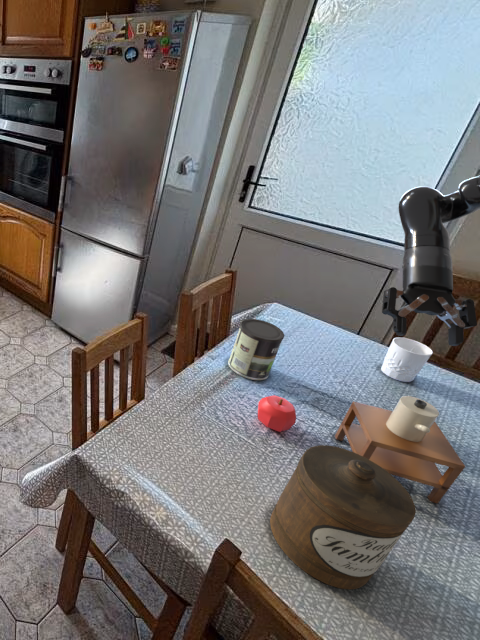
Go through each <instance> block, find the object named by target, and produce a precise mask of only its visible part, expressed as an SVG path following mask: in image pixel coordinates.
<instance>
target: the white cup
mask: <svg viewBox="0 0 480 640" xmlns="http://www.w3.org/2000/svg"><path fill="white" fill-rule="evenodd" d="M433 353H434V352H433V350H432V348H431V347H429V346H427V345H426V344H424V343H422V342H419V341H417V340H414V339H411V338H407V337H402V336H400V337H399V336H398V337H394V338H393V339H392V341H391V342H390V345H389V347H388V348H387V351H386V354H385V356H384V359H383V363H382V365H381V368H380V370H381V372H382V373H383V374H384V375H386V376H387V377H389V378H392V379H393V380H396V381H399V382H402V383H403V382H404V383H410V382H413V381H414V380H415V379H416V377H417V375H418V374H419V373H420V372H421V371H422V370H423V368H424V367H425V365H426V363H427V362H428V361H429V359H430V358H431V356H433Z"/></svg>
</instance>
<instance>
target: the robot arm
mask: <svg viewBox="0 0 480 640" xmlns="http://www.w3.org/2000/svg"><path fill="white" fill-rule="evenodd" d="M477 211H480V175H478V176H474V177H471V178H469V179H465V180H463V181H462V182H460V183H459V185H458V190H457V191H454V192H452V193H450V194H449V193H448V194H446V195H443V193H442V192H440V191H439V190H437V189H435V188H433V187H430V186H417V187H414V188H411V189H409V190H407V191H405V193H404V194H403V195H402V196H401V198H400V199H399V202H398V214H399V219H400V224H401V227H402V230H403V232H404V247H403V248H404V251H403V252H404V253H403V258H402V265H401V268H402V290H399V289H397V288H396V287H394V286H392V287H389V288H387V289H385V290H384V291H383V298H382V306H381V314H383V315H387V316H390V317H391V318H392V321H393V322H392V330H393V332H394V333H395V335H396V336H398V337H399V336H400V337H403V336H406V335H407V318H408V317H406V316H407V315H409V314H410V313H411V312H414V313H417V314H425V315H428V316H434V317H435V316H436V317H437V318H438V319H440V320H441V321H443V322H444V323H445V324H446V325H447V327H449V328H448V329H447V337H448V340H447V341H448V345H449V346H451V347H452V346H453V347H457V346H460V345H461V344H463V343H464V342H465V341H464V329H466V330H467V329H470V328H473V327H474V328H475V327H476V326H477V325H478V323H477V314H476V313H477V312H476V306H475V301H474V300H473V299H471V298H467V299H457V298H455V297H454V296H453V290H454V276H453V271H454V270H453V259H452V255H451V237H450V232H449V230H448V229H447V227H446V226H445V225H444V224H446V223H450V222H452V221H455V220H457V219H460V218H463V217H465V216H469V215H471V214H473V213H475V212H477ZM399 298H401V299H402V301H404V303H405V304H404V305H403V306H401V307H400V308H398V309H396V306H397V299H399ZM453 306H455V309H456V310H458V312H456V310H454V308H453Z"/></svg>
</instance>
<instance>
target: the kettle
mask: <svg viewBox="0 0 480 640" xmlns="http://www.w3.org/2000/svg"><path fill="white" fill-rule="evenodd" d="M392 411H393V412H392V413H391V415H390V417H389V418H388V420H387V422H386V426H387V427H388V429H389V430H390V431H392V432H393V433H394V434H396V435H397V436H399V437H401V438H404V439H406V440H409V441H414V442H419V441H422V440H423V438H424V437H425V435H426V434H427V433H429V432H430V428H431V426H432V424H433V423H434V422H436V420H437V418H438V417H439V416H440V412H439V410H438V409H437V408H436V407H435V406H434V405H432V403H429V402H427V401H426V400H423V399H421V398H418V397H415V396H411V395H403V396H401V397H400V398H399V400H398V401H397V403H396V404H395V407H394V408H393V409H392Z"/></svg>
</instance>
